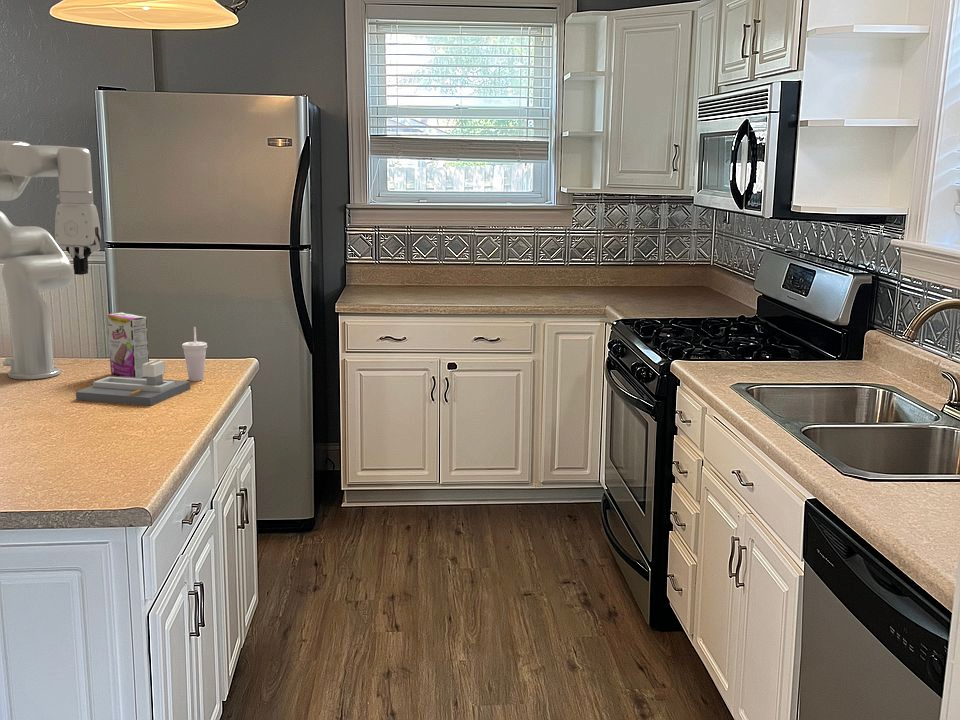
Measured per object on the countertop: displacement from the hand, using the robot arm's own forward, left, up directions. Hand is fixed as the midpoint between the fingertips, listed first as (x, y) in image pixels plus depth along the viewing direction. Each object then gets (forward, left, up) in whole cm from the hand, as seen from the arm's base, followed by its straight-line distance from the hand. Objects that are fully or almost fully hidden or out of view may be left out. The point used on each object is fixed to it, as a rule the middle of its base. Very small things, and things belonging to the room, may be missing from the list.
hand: (81, 273), depth 237 cm
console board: (+15, -3, -29) cm, 33 cm away
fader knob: (+21, -3, -27) cm, 34 cm away
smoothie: (+21, +16, -29) cm, 39 cm away
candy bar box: (+2, +15, -29) cm, 33 cm away
